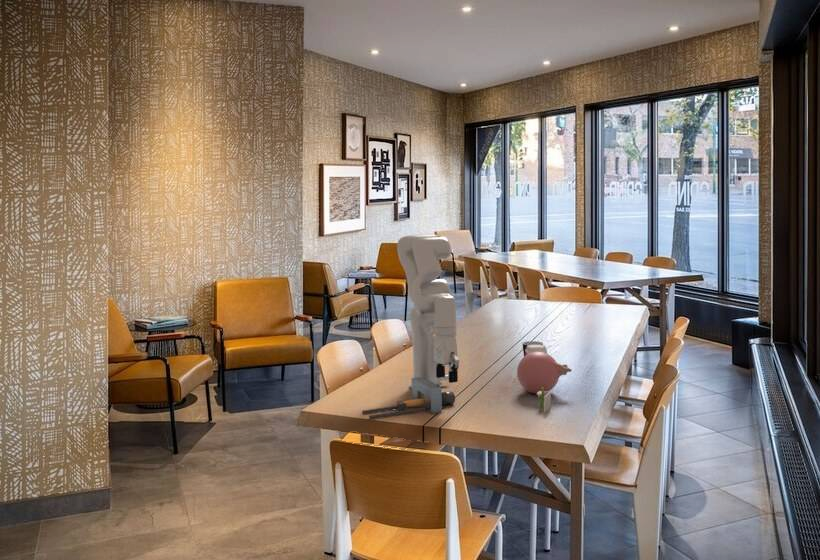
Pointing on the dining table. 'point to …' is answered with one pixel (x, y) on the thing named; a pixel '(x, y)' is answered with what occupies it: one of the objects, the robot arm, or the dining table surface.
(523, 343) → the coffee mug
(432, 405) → the housing
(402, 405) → the hammer
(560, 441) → the dining table surface
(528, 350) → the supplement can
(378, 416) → the guide
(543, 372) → the pink bulb shape
